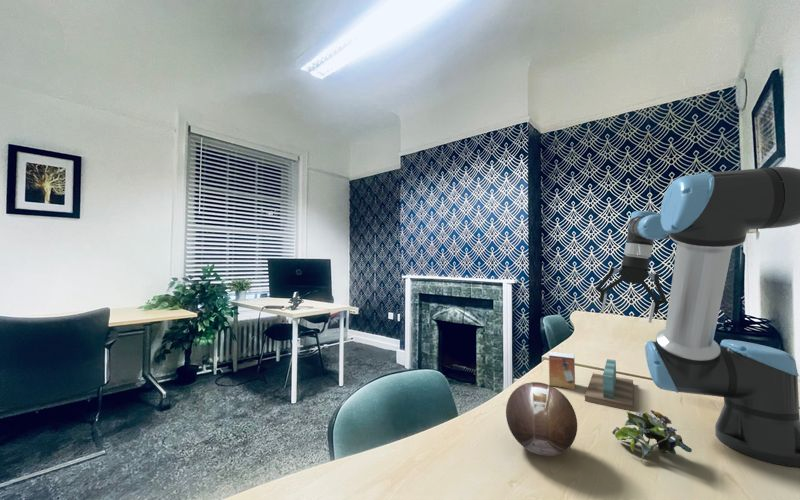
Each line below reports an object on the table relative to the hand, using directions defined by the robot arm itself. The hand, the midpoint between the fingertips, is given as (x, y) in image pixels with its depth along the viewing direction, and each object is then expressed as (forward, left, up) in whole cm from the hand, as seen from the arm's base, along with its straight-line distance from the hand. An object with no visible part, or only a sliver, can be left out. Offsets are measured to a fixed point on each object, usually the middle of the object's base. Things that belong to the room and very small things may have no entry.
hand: (625, 316), depth 112 cm
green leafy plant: (-46, -4, -24) cm, 52 cm away
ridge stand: (-11, +5, -23) cm, 26 cm away
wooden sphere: (-58, +16, -24) cm, 64 cm away
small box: (-13, +19, -24) cm, 33 cm away
